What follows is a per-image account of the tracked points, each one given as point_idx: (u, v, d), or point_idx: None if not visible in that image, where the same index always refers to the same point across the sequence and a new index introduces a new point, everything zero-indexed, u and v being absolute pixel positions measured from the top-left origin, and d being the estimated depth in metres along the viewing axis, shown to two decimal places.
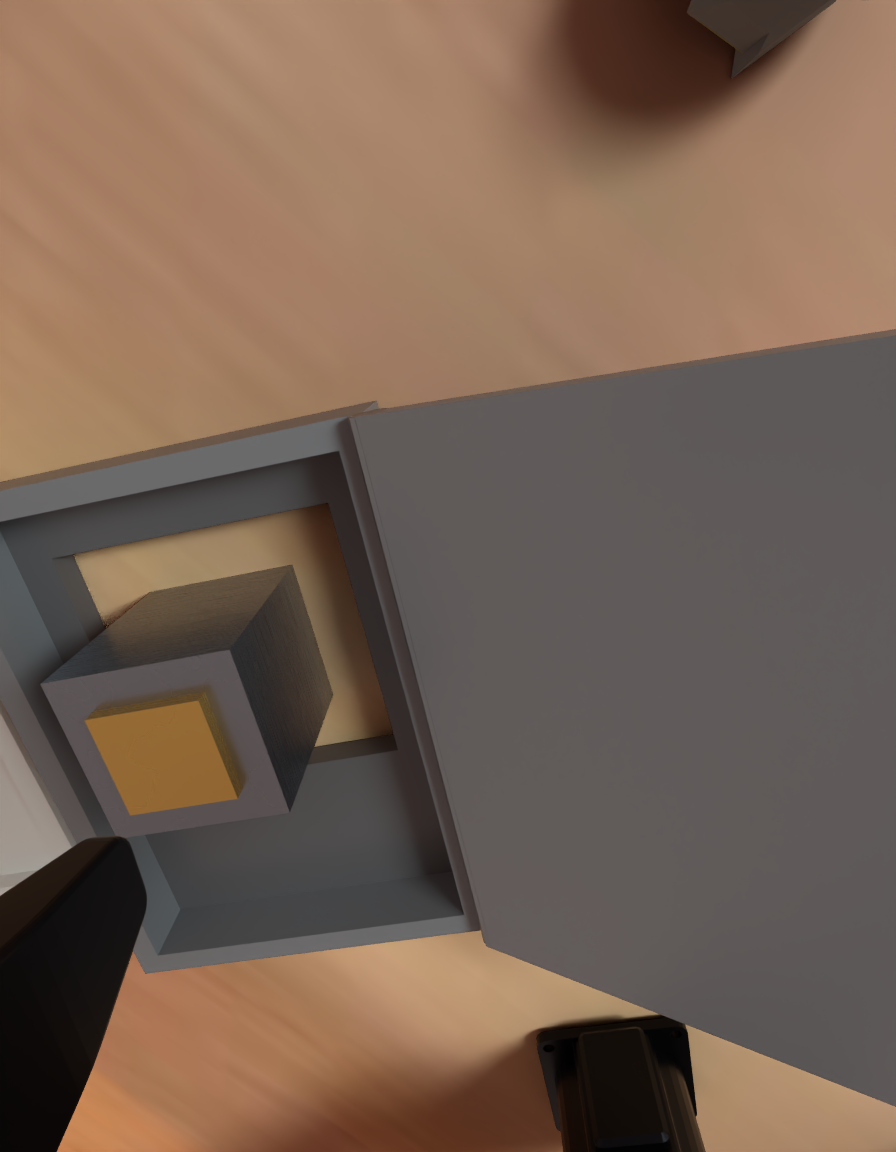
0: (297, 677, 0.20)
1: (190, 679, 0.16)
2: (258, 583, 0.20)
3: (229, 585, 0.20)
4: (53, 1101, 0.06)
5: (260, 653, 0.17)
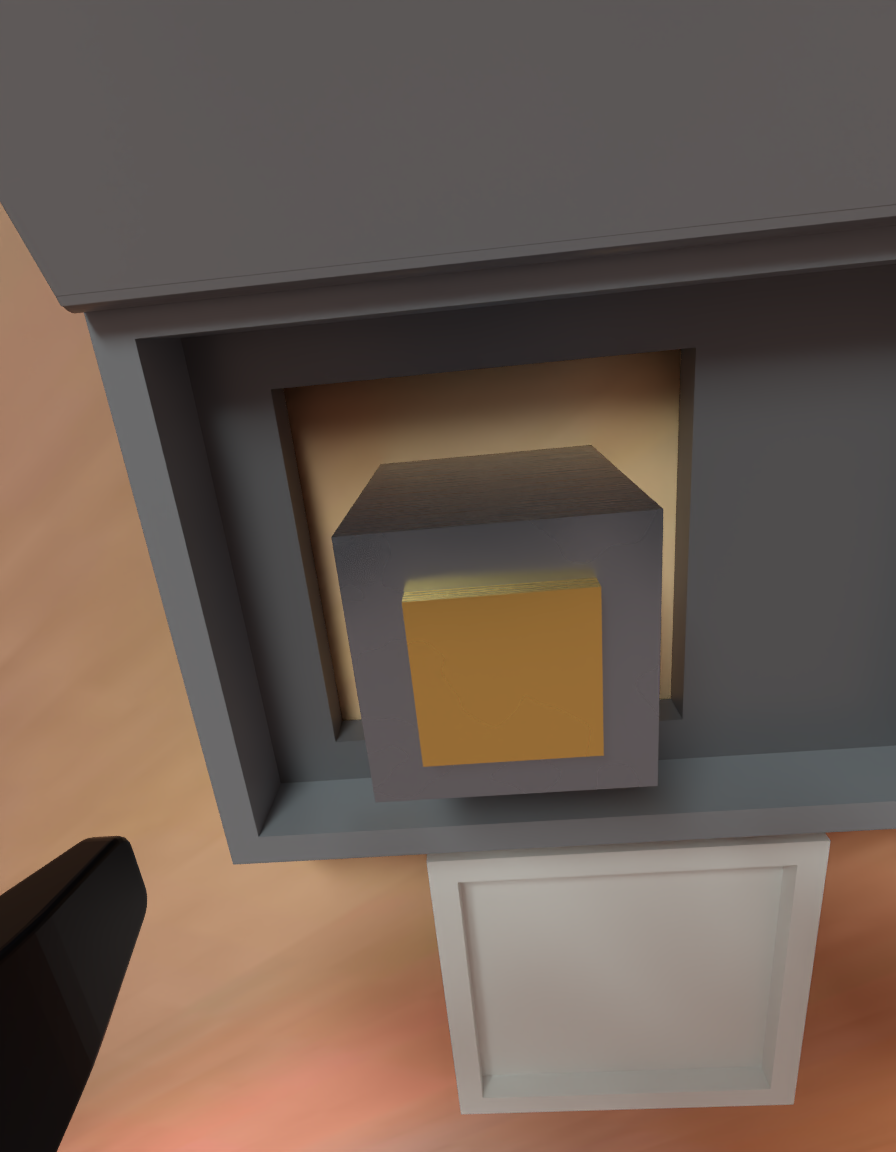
0: (502, 475, 0.13)
1: (380, 607, 0.10)
2: None
3: None
4: (52, 1102, 0.06)
5: (402, 506, 0.11)
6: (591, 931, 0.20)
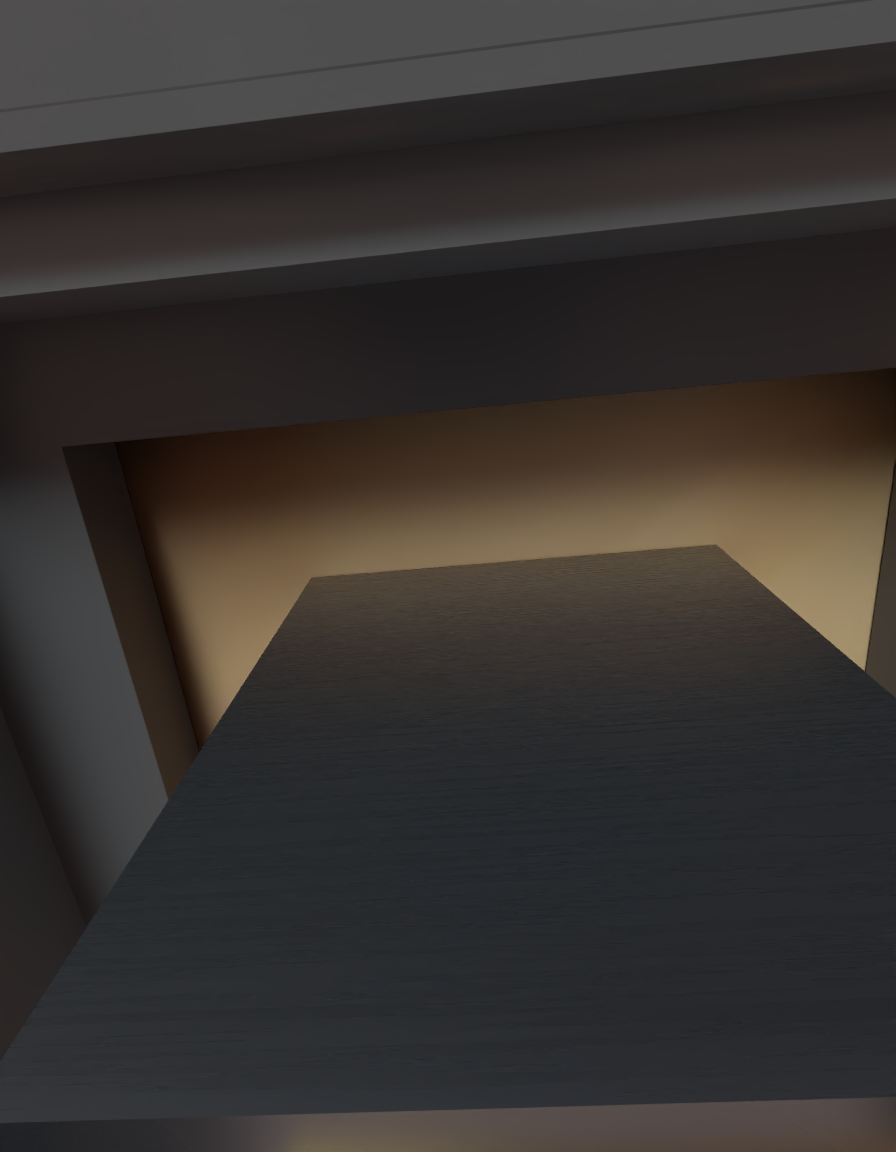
0: (560, 660, 0.06)
1: None
2: None
3: None
4: None
5: (297, 825, 0.04)
6: None
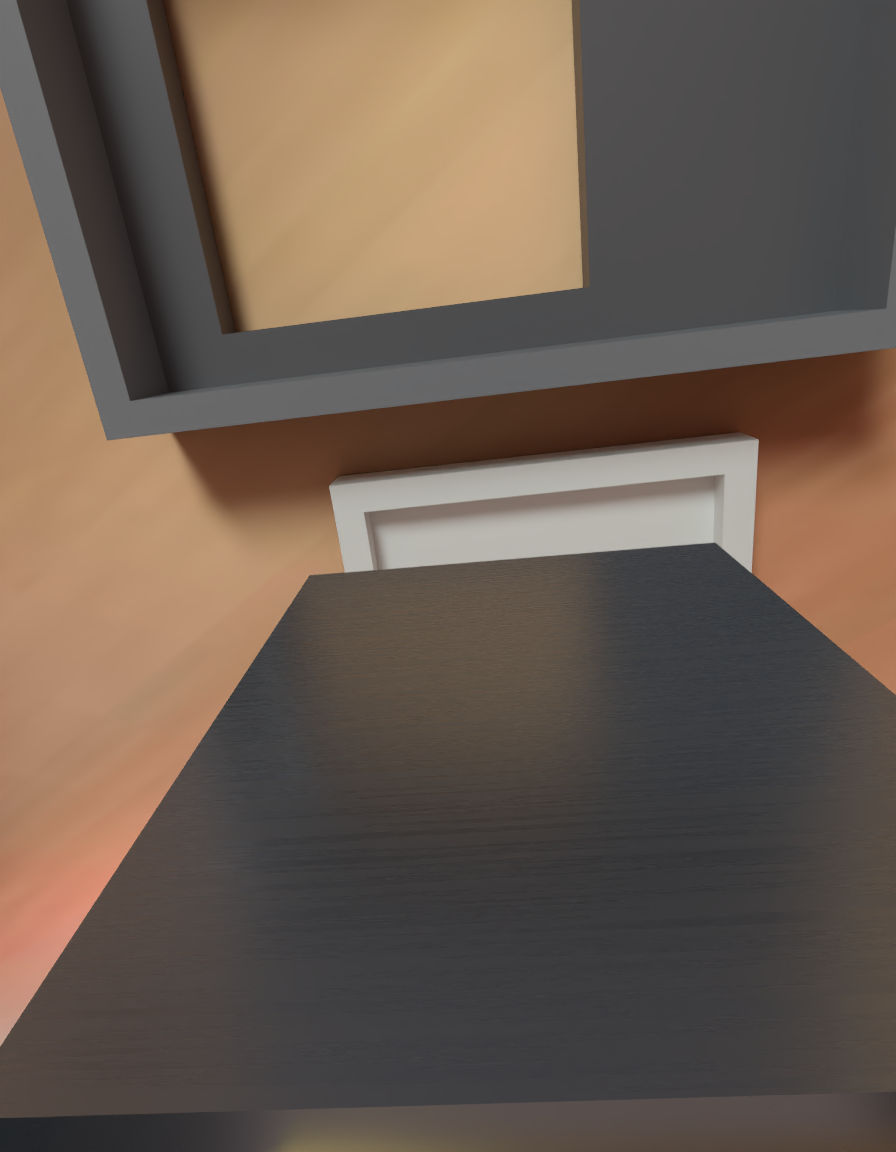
0: (558, 656, 0.06)
1: None
2: None
3: None
4: None
5: (292, 822, 0.04)
6: None
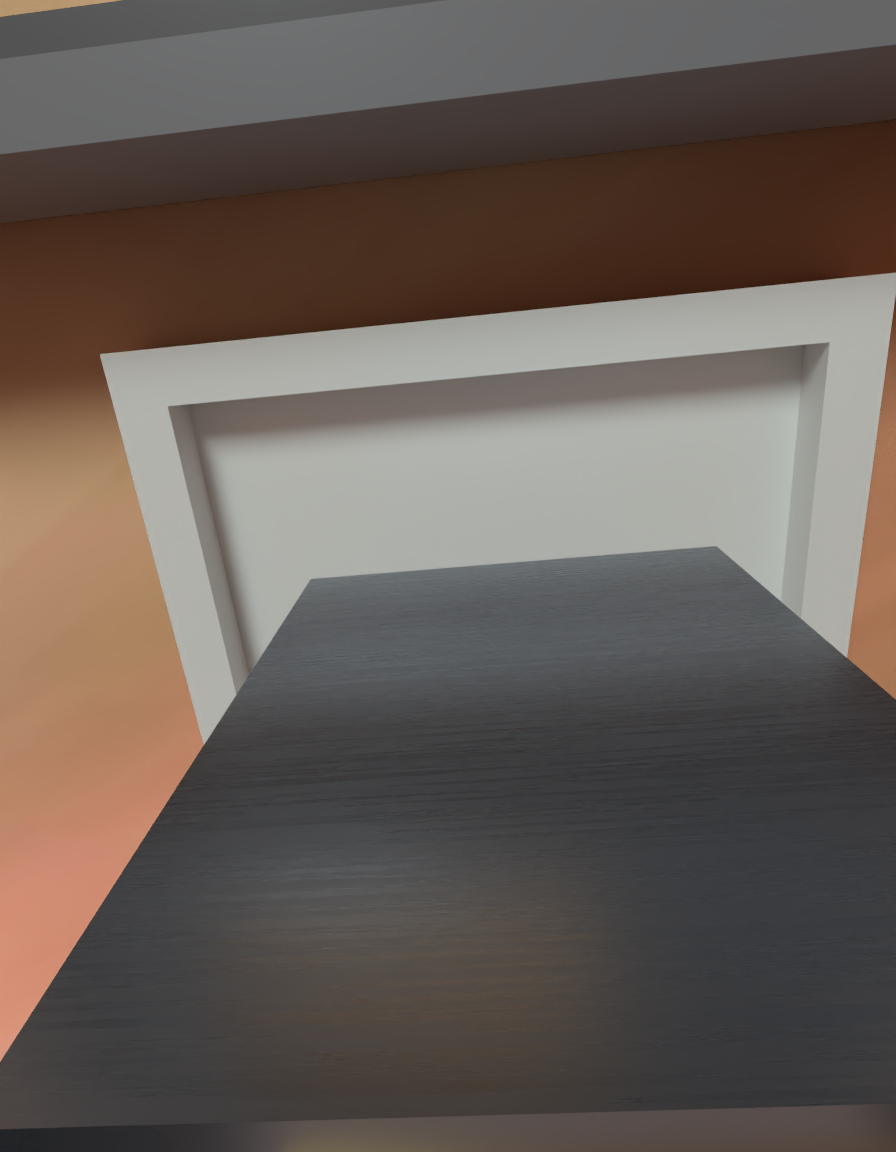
0: (559, 661, 0.06)
1: None
2: None
3: None
4: None
5: (295, 829, 0.04)
6: (449, 558, 0.11)
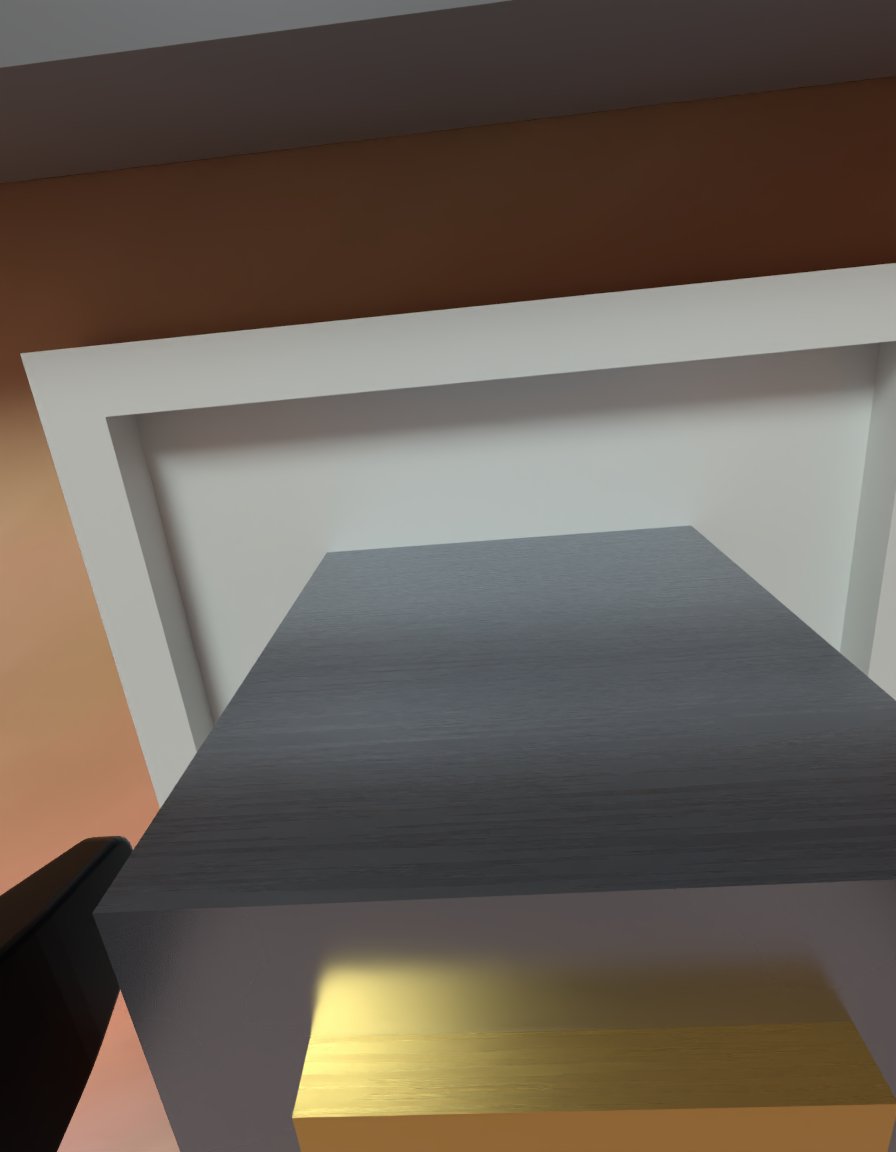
0: (548, 614, 0.06)
1: (248, 1066, 0.04)
2: None
3: None
4: (54, 1101, 0.06)
5: (329, 732, 0.05)
6: None
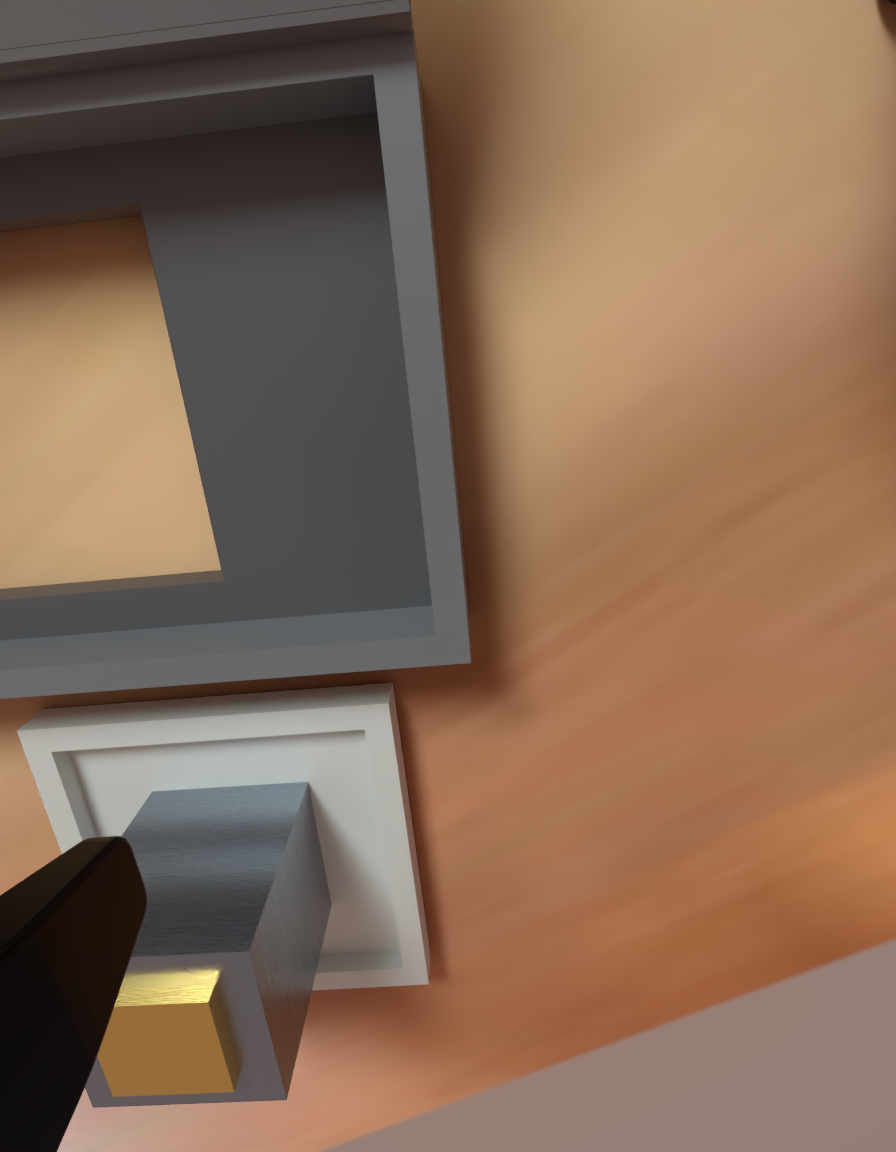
0: (207, 846, 0.18)
1: None
2: None
3: None
4: (53, 1101, 0.06)
5: None
6: None
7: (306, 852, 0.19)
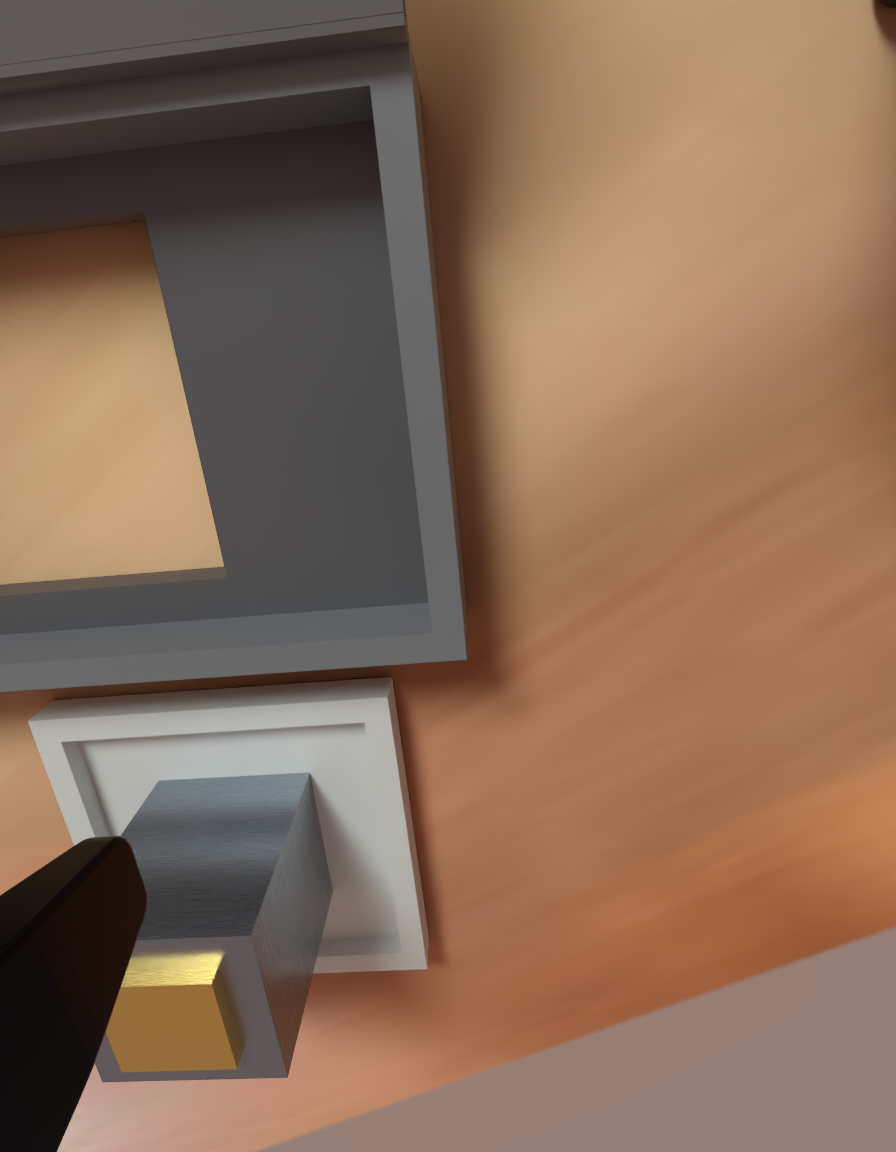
0: (211, 834, 0.18)
1: None
2: None
3: None
4: (53, 1100, 0.06)
5: None
6: None
7: (308, 841, 0.20)
